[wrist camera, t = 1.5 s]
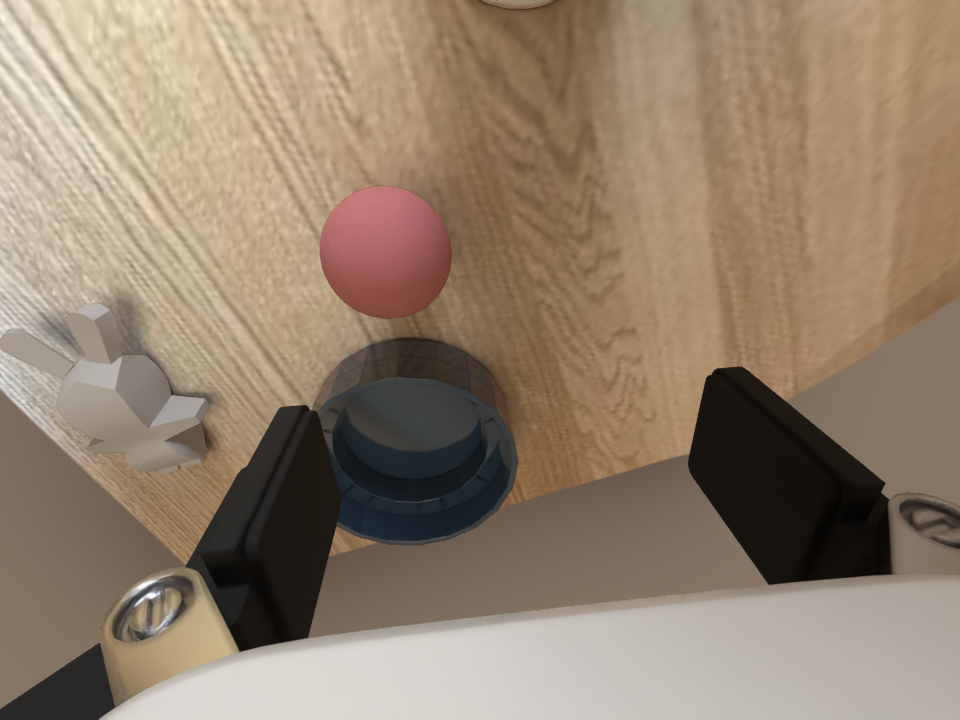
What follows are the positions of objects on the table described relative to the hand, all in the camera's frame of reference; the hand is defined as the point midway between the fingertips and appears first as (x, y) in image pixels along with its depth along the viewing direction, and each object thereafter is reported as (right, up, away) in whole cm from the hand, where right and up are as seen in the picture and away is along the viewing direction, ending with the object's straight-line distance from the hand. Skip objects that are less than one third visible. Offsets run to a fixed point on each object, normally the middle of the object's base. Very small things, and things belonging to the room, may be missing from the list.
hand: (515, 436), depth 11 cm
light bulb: (-7, +12, +22) cm, 26 cm away
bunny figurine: (-29, 0, +26) cm, 39 cm away
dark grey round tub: (-7, -4, +30) cm, 31 cm away
